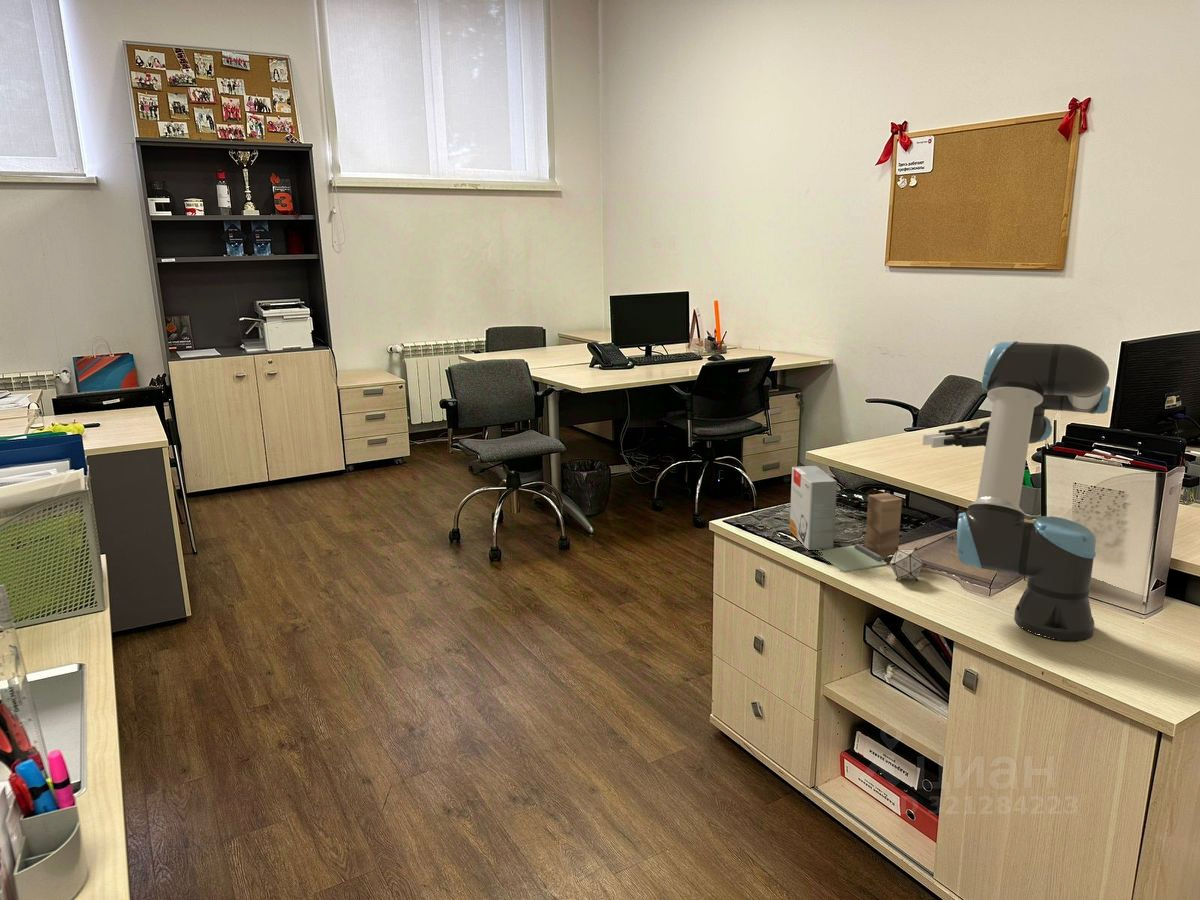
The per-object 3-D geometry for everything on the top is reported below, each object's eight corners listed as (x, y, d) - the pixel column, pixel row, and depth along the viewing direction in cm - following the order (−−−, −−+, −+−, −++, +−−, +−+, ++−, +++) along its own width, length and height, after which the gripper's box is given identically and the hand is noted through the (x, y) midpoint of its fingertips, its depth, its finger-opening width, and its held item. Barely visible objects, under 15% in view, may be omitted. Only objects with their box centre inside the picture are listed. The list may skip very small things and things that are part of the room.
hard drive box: (788, 532, 235) (791, 466, 230) (813, 530, 235) (817, 465, 230) (807, 551, 220) (810, 481, 215) (834, 550, 220) (838, 480, 216)
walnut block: (897, 556, 215) (902, 499, 211) (878, 559, 214) (882, 501, 210) (883, 548, 221) (887, 492, 217) (864, 551, 219) (868, 495, 215)
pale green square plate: (887, 564, 210) (887, 559, 209) (844, 572, 206) (844, 566, 205) (854, 546, 223) (855, 541, 222) (813, 553, 219) (813, 547, 218)
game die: (907, 590, 203) (927, 556, 204) (917, 592, 195) (938, 557, 195) (875, 570, 205) (896, 537, 205) (884, 571, 196) (905, 537, 197)
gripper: (1020, 453, 214) (948, 462, 207) (976, 440, 229) (907, 448, 222) (1023, 425, 213) (950, 433, 205) (978, 414, 227) (909, 421, 220)
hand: (928, 441), depth 214 cm, fingers open, 3 cm apart
